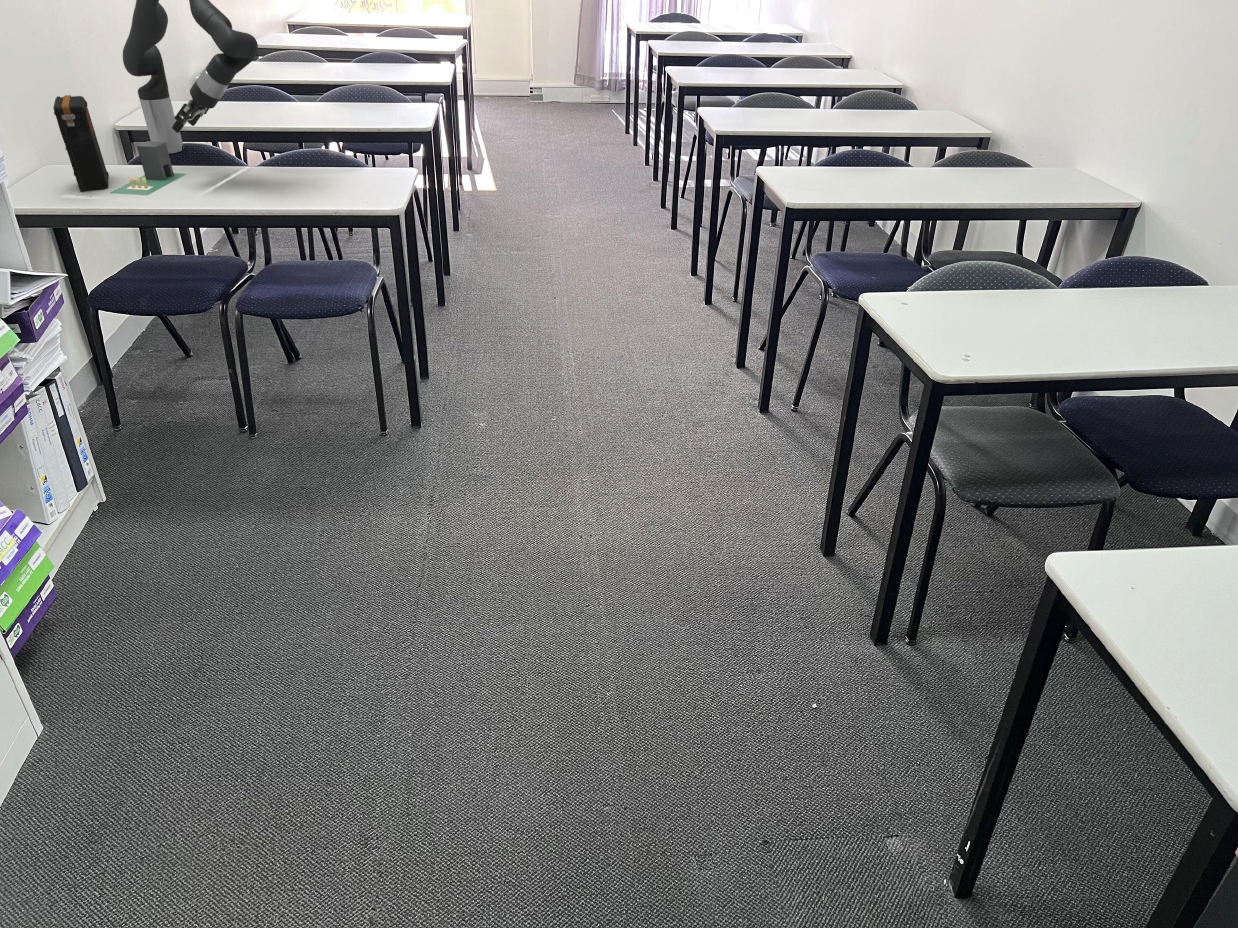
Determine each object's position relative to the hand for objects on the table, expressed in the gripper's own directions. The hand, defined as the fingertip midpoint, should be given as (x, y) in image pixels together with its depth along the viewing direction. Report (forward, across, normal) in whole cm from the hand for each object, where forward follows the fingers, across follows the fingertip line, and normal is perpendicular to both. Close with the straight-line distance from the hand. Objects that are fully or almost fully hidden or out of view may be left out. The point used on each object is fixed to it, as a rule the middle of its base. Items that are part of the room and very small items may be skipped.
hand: (182, 127), depth 267 cm
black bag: (+31, +9, -8) cm, 34 cm away
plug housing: (+19, 0, +3) cm, 19 cm away
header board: (+20, +6, +3) cm, 21 cm away
